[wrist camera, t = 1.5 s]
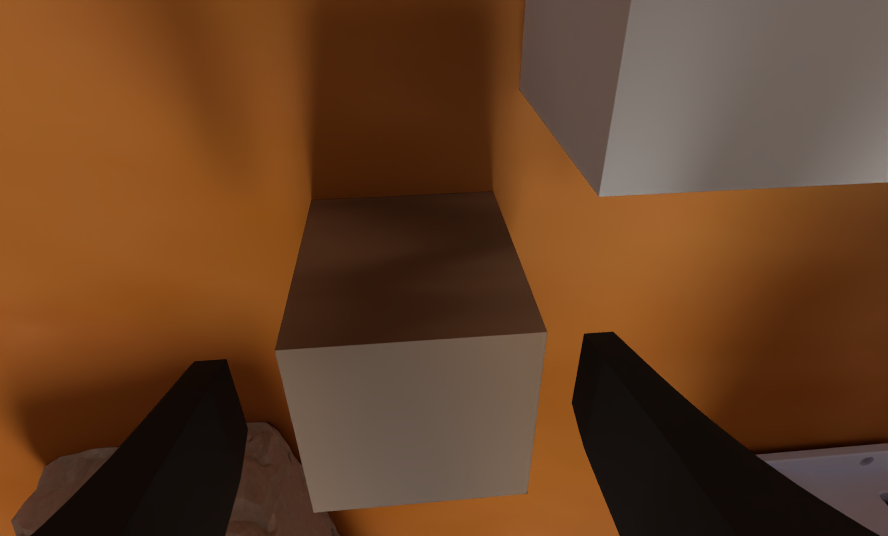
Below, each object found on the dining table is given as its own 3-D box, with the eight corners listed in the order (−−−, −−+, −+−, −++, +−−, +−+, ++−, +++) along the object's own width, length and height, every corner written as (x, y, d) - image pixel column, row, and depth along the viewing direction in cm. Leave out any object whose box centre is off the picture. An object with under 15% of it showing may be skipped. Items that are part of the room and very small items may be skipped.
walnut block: (492, 190, 14) (547, 332, 9) (486, 328, 16) (526, 493, 12) (311, 199, 13) (275, 349, 9) (333, 338, 16) (313, 512, 11)
